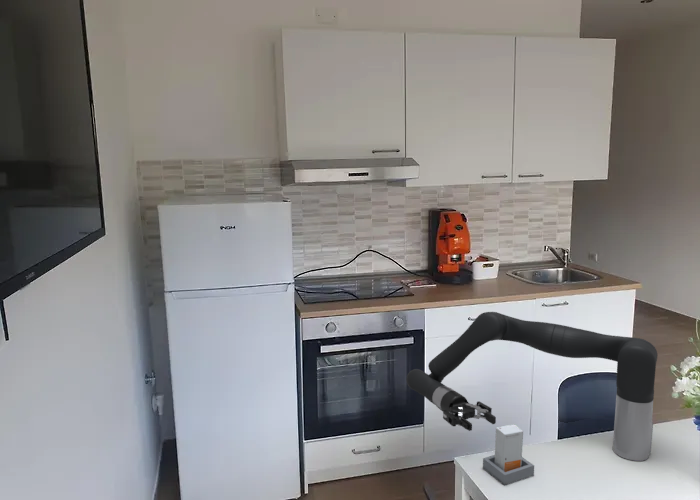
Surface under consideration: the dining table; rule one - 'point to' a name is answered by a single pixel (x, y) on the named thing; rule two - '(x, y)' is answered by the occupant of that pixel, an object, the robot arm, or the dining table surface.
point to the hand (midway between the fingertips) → (483, 424)
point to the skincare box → (508, 447)
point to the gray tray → (509, 476)
